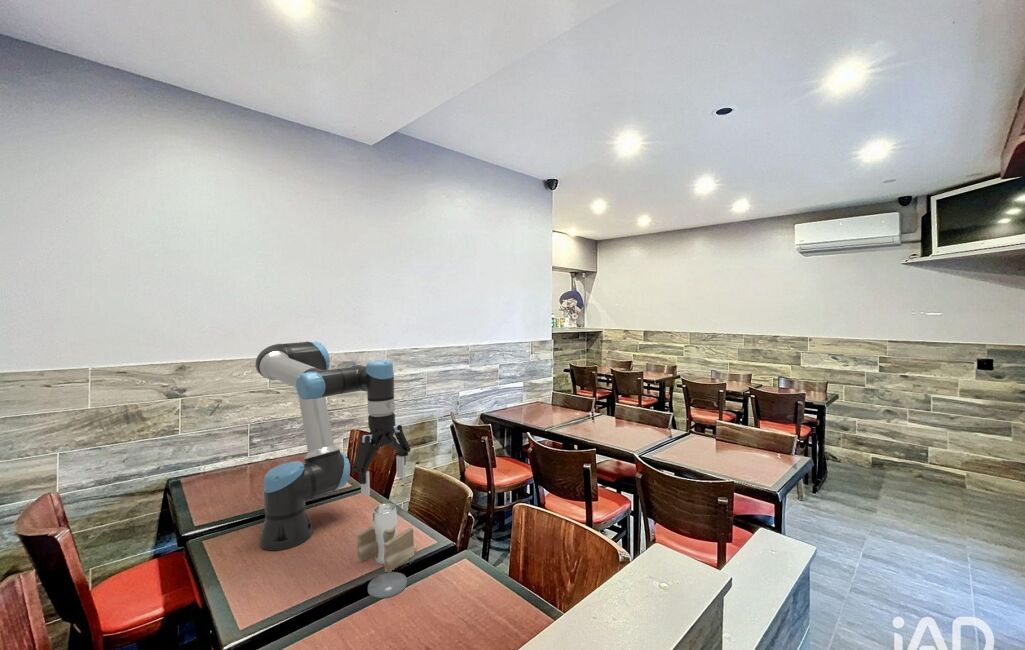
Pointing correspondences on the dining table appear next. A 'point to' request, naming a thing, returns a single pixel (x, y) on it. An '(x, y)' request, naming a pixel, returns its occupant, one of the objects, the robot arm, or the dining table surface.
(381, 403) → the robot arm
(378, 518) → the beer glass
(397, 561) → the rack
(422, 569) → the dining table surface
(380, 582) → the coaster
